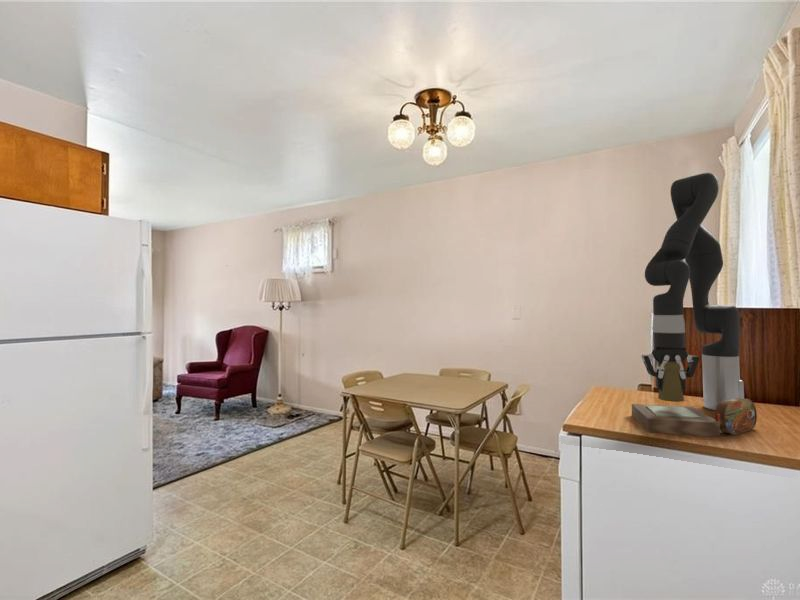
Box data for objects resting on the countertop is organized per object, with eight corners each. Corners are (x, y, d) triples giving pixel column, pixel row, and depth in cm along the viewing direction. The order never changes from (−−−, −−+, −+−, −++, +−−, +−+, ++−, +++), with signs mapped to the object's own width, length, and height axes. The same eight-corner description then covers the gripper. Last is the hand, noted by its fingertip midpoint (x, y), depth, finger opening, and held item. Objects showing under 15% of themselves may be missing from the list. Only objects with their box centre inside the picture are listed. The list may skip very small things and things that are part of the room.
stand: (693, 418, 113) (692, 405, 113) (720, 436, 98) (719, 421, 98) (631, 415, 118) (631, 402, 118) (648, 432, 102) (648, 417, 103)
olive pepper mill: (671, 396, 111) (670, 358, 111) (689, 401, 105) (688, 361, 105) (652, 397, 111) (651, 359, 111) (669, 402, 105) (668, 362, 105)
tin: (727, 437, 97) (725, 404, 98) (713, 433, 100) (711, 401, 100) (759, 428, 103) (757, 397, 104) (744, 425, 106) (743, 395, 106)
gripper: (644, 331, 107) (646, 393, 106) (704, 331, 102) (706, 395, 102) (636, 330, 114) (638, 387, 114) (692, 329, 110) (694, 389, 109)
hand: (670, 391), depth 108 cm, fingers closed on olive pepper mill, 4 cm apart
